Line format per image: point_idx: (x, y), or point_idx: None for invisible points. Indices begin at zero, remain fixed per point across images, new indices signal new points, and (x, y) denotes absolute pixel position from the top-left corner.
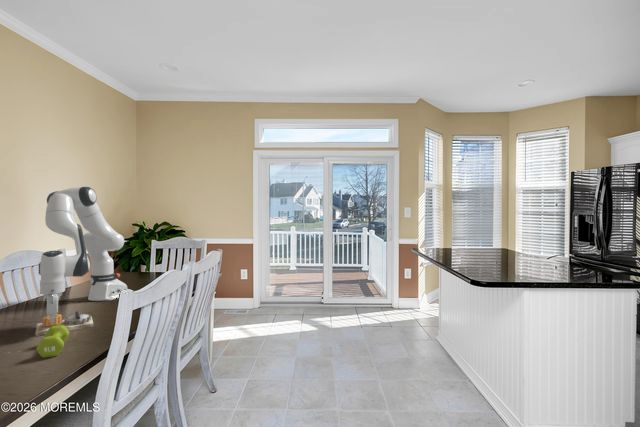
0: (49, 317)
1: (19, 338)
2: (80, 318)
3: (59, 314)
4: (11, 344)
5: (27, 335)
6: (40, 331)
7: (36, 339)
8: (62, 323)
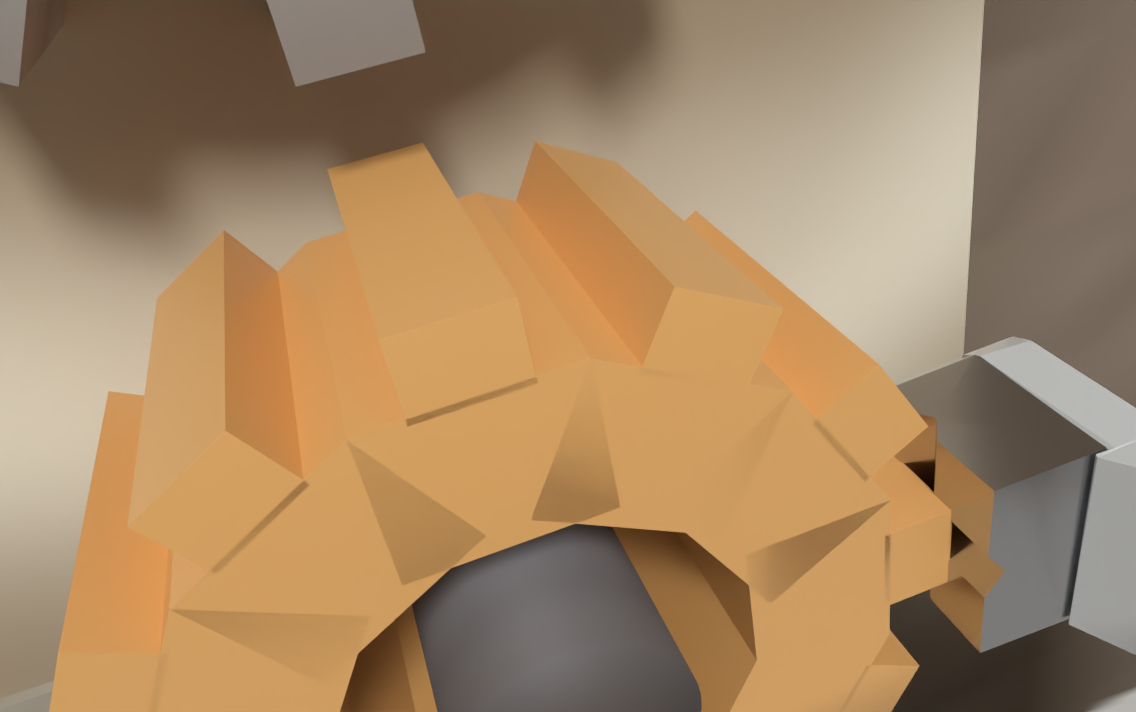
0: None
1: None
2: None
3: (187, 543)
4: (1110, 656)
5: None
6: None
7: (1123, 389)
8: (256, 124)
